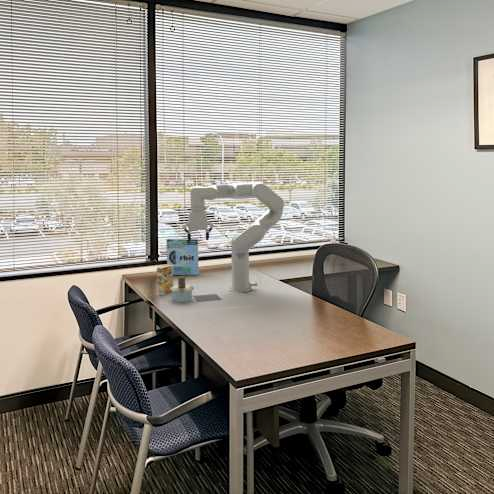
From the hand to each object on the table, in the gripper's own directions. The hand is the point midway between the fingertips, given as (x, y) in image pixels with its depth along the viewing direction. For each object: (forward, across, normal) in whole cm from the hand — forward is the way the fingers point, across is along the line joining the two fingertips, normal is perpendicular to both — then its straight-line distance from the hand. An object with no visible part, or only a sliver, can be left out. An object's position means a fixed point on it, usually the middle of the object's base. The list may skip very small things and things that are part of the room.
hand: (198, 240), depth 292 cm
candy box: (+28, +19, +1) cm, 34 cm away
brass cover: (+22, +13, +18) cm, 31 cm away
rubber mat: (+28, 0, +19) cm, 34 cm away
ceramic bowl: (+28, +13, +18) cm, 36 cm away
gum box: (+28, +1, -46) cm, 54 cm away
